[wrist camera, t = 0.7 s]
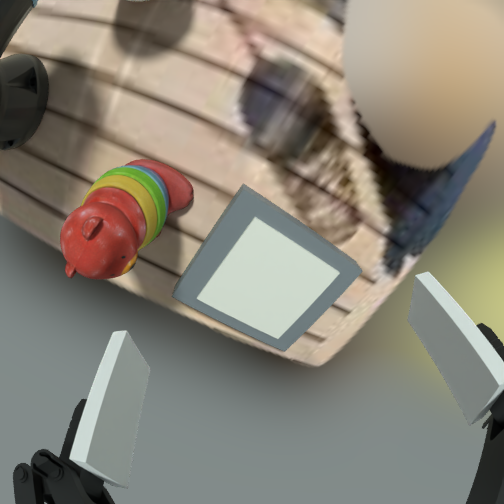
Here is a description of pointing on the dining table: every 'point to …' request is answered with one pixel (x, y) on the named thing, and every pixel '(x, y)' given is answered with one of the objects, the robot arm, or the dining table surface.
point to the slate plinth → (265, 272)
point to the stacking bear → (121, 218)
